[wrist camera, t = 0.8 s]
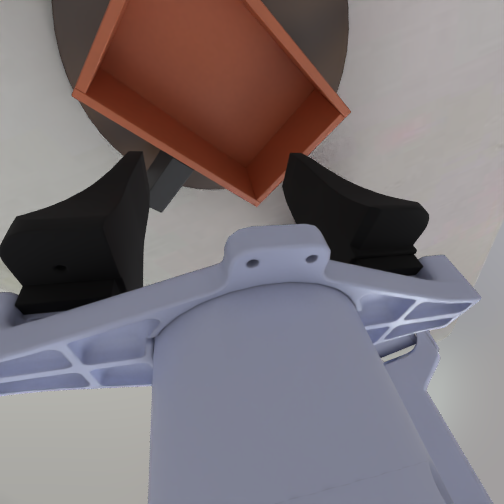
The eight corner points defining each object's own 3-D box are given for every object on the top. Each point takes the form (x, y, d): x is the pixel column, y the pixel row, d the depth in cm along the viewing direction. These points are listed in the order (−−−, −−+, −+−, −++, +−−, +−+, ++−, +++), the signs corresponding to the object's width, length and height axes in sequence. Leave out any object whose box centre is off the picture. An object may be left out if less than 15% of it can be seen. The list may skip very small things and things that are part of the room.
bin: (323, 85, 21) (352, 112, 18) (217, 204, 27) (224, 241, 24) (162, -108, 13) (160, -124, 10) (65, 122, 19) (44, 160, 16)
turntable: (366, 114, 24) (369, 117, 24) (189, 217, 29) (190, 221, 28) (284, -323, 11) (289, -333, 10) (-29, 3, 15) (-35, 5, 15)
